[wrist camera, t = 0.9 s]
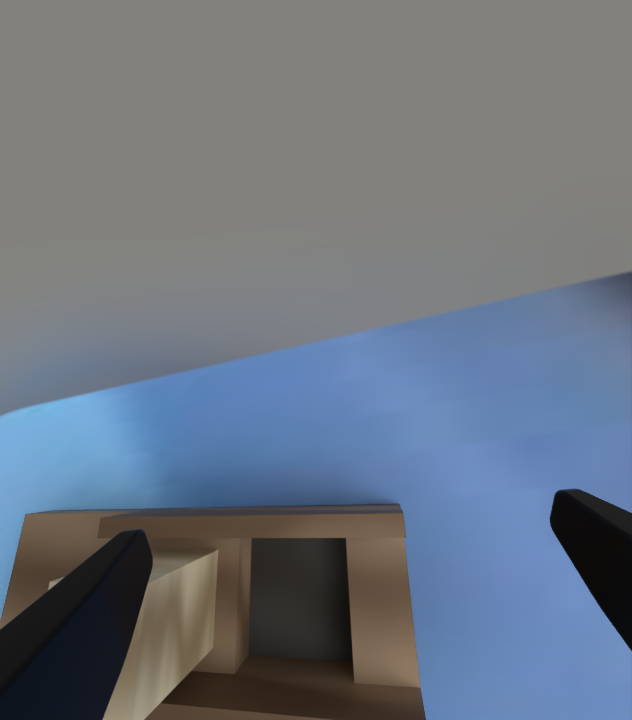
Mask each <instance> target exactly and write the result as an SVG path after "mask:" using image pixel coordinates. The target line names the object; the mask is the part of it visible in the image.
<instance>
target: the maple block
mask: <svg viewBox="0 0 632 720" xmlns="http://www.w3.org/2000/svg"><path fill="white" fill-rule="evenodd" d="M151 553H152V556H153V566H152V571H151V574H150V578H149V581H148V585H147V588H146V592H145V595H144V599H143V602H142V606H141V609H140V613H139V616H138V620H137V623H136V627H135V630H134V634H133V637H132V641H131V644H130V647H129V650H128V653H127V656H126V659H125V662H124V665H123V667H122V670H121V673H120V675H119V678H118V681H117V683H116V686H115V689H114V691H113V694H112V696H111V699H110V702H109V704H108V707H107V710H106V712H105V715H104V717H103V720H144V719H145V718H146V717H147V716H148V715H149V714H150V713H151V712H152V711H153V710H154V709H155V708H156V707H157V706H158V705H159V704H160V703H161V702H162V701H163V700H164V698H165V697H166V696H167V695H168V694H169V693H170V692H171V691H172V690H173V689H174V688H175V687H176V686H177V685H178V684H179V683H180V682H181V681H182V680H183V679H184V678H185V677H186V676H187V675H188V674H189V672H190V671H191V670H192V669H193V668H194V667H195V666H196V665H197V664H198V663H199V662H200V661H201V660H202V659H203V658H204V657H205V656H206V655H207V654H208V653H209V652H210V651H211V650H212V649H213V637H214V619H215V601H216V583H217V565H218V550H204V549H151ZM63 578H64V577H62V578H59V579H56V580H53V581H50V583H49V588H48V590H49V589H50V588H52V587H53V586H54V585H55V584H57V583H58V582H59V581H60V580H62V579H63Z"/></svg>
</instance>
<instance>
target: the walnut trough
mask: <svg viewBox="0 0 632 720" xmlns="http://www.w3.org/2000/svg"><path fill="white" fill-rule="evenodd" d="M131 529H142V530H144V531H145V533H146V536H147V540H148V543H149V546H150V549H204V550H218V565H217V583H216V601H215V619H214V637H213V649H212V650H211V651H210V652H209V653H208V654H207V655H206V656H205V657H204V658H203V659H202V660H201V661H200V662H199V663H198V664H197V665H196V666H195V667H194V668H193V669H192V670H191V671H190V672H189V674H188V675H187V676H186V677H185V678H184V679H183V680H182V681H181V682H180V683H179V684H178V685H177V686H176V687H175V688H174V689H173V690H172V691H171V692H170V693H169V694H168V695H167V696H166V697H165V698H164V700H163V701H162V702H161V703H160V704H159V705H158V706H157V707H156V708H155V709H154V710H153V711H152V712H151V713H150V714H149V715H148V716H147V717H146V718H145V719H144V720H426V718H425V712H424V706H423V700H422V694H421V688H420V679H419V670H418V661H417V652H416V643H415V634H414V625H413V615H412V606H411V597H410V588H409V579H408V570H407V561H406V552H405V543H404V538H406V533H405V525H404V516H403V512H402V509H401V507H400V505H399V504H366V505H315V506H264V507H213V508H162V509H111V510H61V511H47V512H39V513H31V514H26V515H25V519H24V523H23V527H22V532H21V536H20V540H19V544H18V549H17V553H16V557H15V562H14V566H13V570H12V574H11V579H10V583H9V587H8V591H7V596H6V600H5V604H4V609H3V613H2V617H1V621H0V629H1V628H2V627H4V626H5V625H6V624H7V623H9V622H10V621H11V620H12V619H14V618H15V617H16V616H17V615H18V614H20V613H21V612H22V611H23V610H25V609H26V608H27V607H28V606H30V605H31V604H32V603H33V602H34V601H36V600H37V599H38V598H39V597H41V596H42V595H43V594H44V593H46V592H47V591H48V588H49V583H50V581H53V580H56V579H59V578H62V577H65V576H66V575H68V574H69V573H70V572H71V571H73V570H74V569H75V568H76V567H78V566H79V565H80V564H81V563H82V562H84V561H85V560H86V559H87V558H89V557H90V556H91V555H92V554H94V553H95V552H96V551H97V550H98V549H100V548H101V547H102V546H103V545H105V544H106V543H107V542H108V541H110V540H111V539H112V538H113V537H114V536H116V535H117V534H118V533H120V532H121V531H124V530H131Z"/></svg>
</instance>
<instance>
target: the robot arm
mask: <svg viewBox="0 0 632 720" xmlns="http://www.w3.org/2000/svg"><path fill="white" fill-rule="evenodd" d="M550 524H551V528H552V530H553V532H554V534H555V535H556V537H557V539H558V540H559V542H560V543H561V545H562V547H563V548H564V550H565V552H566V553H567V555H568V556H569V558H570V560H571V561H572V563H573V565H574V566H575V568H576V569H577V571H578V573H579V574H580V576H581V578H582V579H583V581H584V582H585V584H586V586H587V587H588V589H589V591H590V592H591V594H592V595H593V597H594V598H595V600H596V601H597V603H598V605H599V606H600V608H601V609H602V610H603V612H604V613H605V615H606V616H607V618H608V619H609V621H610V622H611V623H612V625H613V626H614V627H615V629H616V630H617V632H618V633H619V634H620V636H621V637H622V638H623V640H624V641H625V643H626V644H627V645H628V647H629V648H630V649H631V651H632V513H630V512H628V511H626V510H624V509H621V508H619V507H617V506H615V505H613V504H610V503H608V502H606V501H604V500H602V499H599V498H597V497H595V496H593V495H591V494H589V493H586V492H584V491H582V490H579V489H565V490H559V491H557V492H556V493H555V496H554V501H553V505H552V510H551V515H550ZM152 566H153V556H152V553H151V549H150V546H149V543H148V540H147V536H146V533H145V531H144V530H142V529H131V530H124V531H121V532H120V533H118V534H117V535H116V536H114V537H113V538H112V539H111V540H110V541H108V542H107V543H106V544H105V545H103V546H102V547H101V548H100V549H98V550H97V551H96V552H95V553H94V554H92V555H91V556H90V557H89V558H87V559H86V560H85V561H84V562H82V563H81V564H80V565H79V566H78V567H76V568H75V569H74V570H73V571H71V572H70V573H69V574H68V575H66V576H65V577H64V578H63V579H62V580H60V581H59V582H58V583H57V584H55V585H54V586H53V587H52V588H50V589H49V590H48V591H47V592H46V593H44V594H43V595H42V596H41V597H39V598H38V599H37V600H36V601H34V602H33V603H32V604H31V605H30V606H28V607H27V608H26V609H25V610H23V611H22V612H21V613H20V614H18V615H17V616H16V617H15V618H14V619H12V620H11V621H10V622H9V623H7V624H6V625H5V626H4V627H2V628H1V629H0V720H103V717H104V715H105V712H106V710H107V707H108V704H109V702H110V699H111V696H112V694H113V691H114V689H115V686H116V683H117V681H118V678H119V675H120V673H121V670H122V667H123V665H124V662H125V659H126V656H127V653H128V650H129V647H130V644H131V641H132V637H133V634H134V630H135V627H136V623H137V620H138V616H139V613H140V609H141V606H142V602H143V599H144V595H145V592H146V588H147V585H148V581H149V578H150V574H151V571H152Z"/></svg>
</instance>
